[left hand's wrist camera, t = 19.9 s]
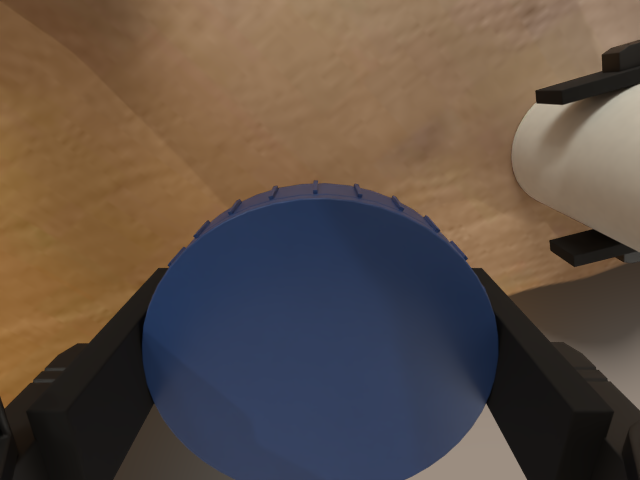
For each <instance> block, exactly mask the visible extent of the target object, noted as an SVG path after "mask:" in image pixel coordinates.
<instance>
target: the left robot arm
mask: <svg viewBox="0 0 640 480" xmlns="http://www.w3.org/2000/svg"><path fill="white" fill-rule="evenodd" d="M167 270H168V268H158V269H157V270H156V271H155V272H154V274H153V275H152V276H151V277H150V278H149V279H148V280H147V281H146V282H145V283H144V284H143V285H142V287H141V288H140V289H139V290H138V291H137V292H136V293H135V294H134V295H133V296H132V297H131V298H130V299H129V301H128V302H127V303H126V304H125V305H124V306H123V307H122V308H121V309H120V310H119V311H118V312H117V314H116V315H115V316H114V317H113V318H112V319H111V320H110V321H109V322H108V323H107V324H106V325H105V326H104V328H103V329H102V330H101V331H100V332H99V333H98V334H97V335H96V336H95V337H94V338H93V339H92V340H91V342H90V343H77V344H76V345H74V346H73V347H71V348H69V349H68V350H66V351H64V352H63V353H61V354H59V355H58V356H57V357H56V358H55V359H54V360H53V361H52V362H51V363H50V364H49V365H48V366H47V367H46V368H45V371H42V372H41V373H40V374H39V375H38V376H37V377H36V378H35V379H34V380H33V383H30V384H29V385H28V386H27V387H26V388H25V389H24V390H23V391H22V392H21V393H20V394H19V395H18V396H17V397H16V398H15V399H14V400H13V401H12V402H11V403H10V404H9V405H8V406H7V407H6V408H5V409H4V407H3V404H2V401H1V398H0V480H113V479H114V477H115V475H116V473H117V471H118V469H119V468H120V466H121V464H122V462H123V460H124V458H125V456H126V455H127V453H128V451H129V449H130V447H131V445H132V443H133V441H134V440H135V438H136V436H137V434H138V432H139V430H140V428H141V427H142V425H143V423H144V421H145V419H146V417H147V415H148V414H149V412H150V410H151V408H152V406H153V404H154V402H153V399H152V396H151V394H150V391H149V389H148V386H147V382H146V377H145V372H144V366H143V360H142V336H143V325H144V322H145V318H146V314H147V310H148V306H149V304H150V301H151V299H152V295H153V294H154V292H155V290H156V288H157V285H158V284H159V282H160V281H161V279H162V278H163V276H164V275H165V273H166V271H167ZM472 270H473V271H474V272H475V274H476V275H477V276H478V278H479V280H480V282H481V284H482V285H483V286H484V287H485V289H486V293H487V295H488V298H489V300H490V303H491V306H492V309H493V312H494V315H495V320H496V325H497V331H498V350H499V357H498V363H497V369H496V374H495V379H494V383H493V387H492V390H491V393H490V396H489V398H488V400H487V402H486V404H487V406H488V407H489V409H490V411H491V413H492V415H493V417H494V419H495V421H496V422H497V424H498V426H499V428H500V430H501V432H502V434H503V435H504V437H505V439H506V441H507V443H508V445H509V446H510V448H511V450H512V452H513V454H514V456H515V458H516V460H517V462H518V463H519V465H520V467H521V469H522V471H523V473H524V474H525V476H526V478H527V480H640V410H639V409H637V407H636V406H635V405H633V404H632V403H631V402H630V401H629V400H628V399H627V398H626V397H625V396H624V395H623V394H622V393H621V392H620V391H619V390H618V389H617V388H616V387H615V386H614V385H613V384H612V383H611V382H608V380H607V378H606V377H605V376H604V375H603V374H602V373H601V372H600V371H599V370H596V367H595V366H594V365H593V364H592V363H591V362H590V361H589V360H588V359H587V358H586V357H585V356H584V355H583V354H582V353H580V352H579V351H577V350H575V349H574V348H572V347H570V346H569V345H567V344H565V343H564V342H550V341H549V340H548V339H547V338H546V337H545V336H544V335H543V334H542V333H541V332H540V330H539V329H538V328H537V327H536V326H535V325H534V324H533V323H532V322H531V321H530V320H529V319H528V318H527V316H526V315H525V314H524V313H523V312H522V311H521V310H520V309H519V308H518V307H517V306H516V305H515V303H514V302H513V301H512V300H511V299H510V298H509V297H508V296H507V295H506V294H505V293H504V292H503V291H502V289H501V288H500V287H499V286H498V285H497V284H496V283H495V282H494V281H493V280H492V279H491V278H490V277H489V275H488V274H487V273H486V272H485V271H484V270H483V269H482V268H472Z"/></svg>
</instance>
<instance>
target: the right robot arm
mask: <svg viewBox="0 0 640 480" xmlns="http://www.w3.org/2000/svg"><path fill="white" fill-rule="evenodd" d="M638 83H640V40H637V41H634V42H631V43H627V44H623V45H620V46H617V47H613V48H611V49H609V50H608V51H606V52H605V53H604V54H602V71H601V72H598V73H594V74H591V75H587V76H584V77H580V78H577V79H574V80H570V81H567V82H563V83H560V84H556V85H553V86H549V87H546V88H543V89H539V90H536V102H537V104H552V105H565V104H568V103H572V102H575V101H579V100H582V99H586V98H589V97H593V96H596V95H600V94H603V93H607V92H610V91H614V90H617V89H621V88H624V87H628V86H631V85H635V84H638ZM550 250H551V251H552V252H553V253H555V254H556V255H558V256H559V257H561V258H562V259H564V260H565V261H566V262H568V263H569V264H571V265H572V266H574V267H576V266H581V265H585V264H589V263H593V262H597V261H601V260H605V259H609V258H613V257H616V258H617V259H619V260H621V261H623V262H626V263H635V262H639V261H640V252H638V251H636V250H634V249H632V248H630V247H628V246H626V245H624V244H622V243H620V242H618V241H616V240H614V239H612V238H610V237H608V236H606V235H604V234H602V233H600V232H598V231H596V230H594V229H592V230H588V231H584V232H580V233H576V234H572V235H569V236H565V237H561V238H557V239H553V240H550Z"/></svg>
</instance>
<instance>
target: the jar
mask: <svg viewBox="0 0 640 480" xmlns="http://www.w3.org/2000/svg"><path fill="white" fill-rule="evenodd" d="M511 159H512V167H513V171H514V175H515V177H516V179H517V181H518V183H519V185H520V186H521V188H522V189H523V190H524V191H525V192H526V193H527V194H528V195H529V196H530V197H532V198H534V199H535V200H537V201H539V202H541V203H543V204H545V205H547V206H549V207H551V208H553V209H555V210H557V211H559V212H561V213H563V214H565V215H567V216H569V217H571V218H573V219H575V220H577V221H579V222H580V223H582V224H584V225H586V226H588V227H590V228H592V229H594V230H596V231H598V232H600V233H602V234H604V235H606V236H608V237H610V238H612V239H614V240H616V241H618V242H620V243H622V244H624V245H626V246H628V247H630V248H632V249H634V250H636V251H638V252H640V83H638V84H635V85H631V86H628V87H624V88H621V89H617V90H614V91H610V92H607V93H603V94H600V95H596V96H593V97H589V98H586V99H582V100H579V101H575V102H572V103H568V104H565V105H552V104H537V102H536V103H535V104H534V105H533V106H532V107H531V108H530V109H529V111H528V112H527V113H526V115H525V116H524V118H523V119H522V121H521V123H520V125H519V127H518V129H517V131H516V134H515V137H514V141H513V145H512V156H511Z"/></svg>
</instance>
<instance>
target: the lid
mask: <svg viewBox="0 0 640 480" xmlns="http://www.w3.org/2000/svg"><path fill="white" fill-rule="evenodd" d="M194 237H195V238H194V239H193V241H192V242H191V243H190V244H189V245H188V246H187V247H186V248H185V247H183V248H182V249H181V250H180V251H179V253H178V254H177V255H176V256H175V257H174V258H173V259H172V260H171V261H170V263H169V264H168V266H169V268H168V270H167V271H166V273H165V275H164V276H163V278H162V279H161V281H160V282H159V284H158V285H157V288H156V290H155V292H154V294H153V295H152V299H151V301H150V304H149V306H148V310H147V314H146V318H145V322H144V325H143V336H142V360H143V366H144V372H145V377H146V382H147V386H148V389H149V391H150V394H151V396H152V399H153V402H154V404H155V406H156V407H157V409H158V411H159V413H160V414H161V416H162V418H163V420H164V421H165V422H166V424H167V425H168V426H169V428H170V429H171V430H172V432H173V433H174V434H175V436H176V437H177V438H178V439H179V440H180V441H181V442H182V443H183V444H184V445H185V446H186V447H187V448H188V449H189V450H190V451H191V452H193V453H194V454H195V455H196V456H198V457H199V458H200V459H201V460H202V461H204V462H205V463H207V464H208V465H210V466H212V467H213V468H215V469H216V470H218V471H219V472H221V473H223V474H225V475H227V476H229V477H231V478H233V479H235V480H405V479H407V478H410V477H412V476H414V475H416V474H417V473H419V472H421V471H422V470H424V469H426V468H428V467H429V466H431V465H432V464H434V463H435V462H436V461H438V460H439V459H440V458H442V457H443V456H445V455H446V454H447V453H448V452H449V451H450V450H451V449H452V448H453V447H454V446H456V445H457V444H458V443H459V442H460V441H461V439H462V438H463V437H464V436H465V435H466V433H467V432H468V431H469V430H470V429H471V428H472V426H473V425H474V423H475V422H476V420H477V418H478V417H479V415H480V414H481V412H482V410H483V408H484V406H485V404H486V402H487V400H488V398H489V396H490V393H491V390H492V387H493V383H494V379H495V374H496V369H497V363H498V357H499V350H498V331H497V325H496V320H495V315H494V312H493V309H492V306H491V303H490V300H489V298H488V295H487V293H486V289H485V287H484V286H483V285H482V284H481V282H480V280H479V278H478V276H477V275H476V274H475V272H474V271H473V270H472V268H471V267H470V266H469V264H468V263H467V262H466V260H467V259H468V258H467V257H466V256H465V254H464V253H463V252H462V251H461V250H460V249H459V248H458V247H457V245H456V244H455V243H454V242H453V241H451V242H449V241H448V240H447V238H446V237H445V236H444V235H443V234H442V233H441V232H440V229H439V228H438V227H437V226H436V225H435V224H434V223H433V221H432V220H431V219H430V218H429V217H428V216H427V215H426V216H425V217H422V216H421V215H420V214H418V213H417V212H416V211H414V210H413V209H411V208H409V207H407V206H406V205H404V204H402V203H400V202H399V200H398V199H397V198H396V197H395V196H392V198H390V197H387V196H384V195H382V194H379V193H376V192H374V191H371V190H366V189H362V188H360V187H359V185H358V184H354V187H353V186H348V185H338V184H328V183H321V184H318V181H317V180H316V181H314V184H300V185H294V186H288V187H282V188H278V186H274V187H273V189H272V190H271V191H267V192H264V193H261V194H258V195H255V196H253V197H251V198H249V199H247V200H244V201H242V202H241V200H240V199H239V200H237V201H236V202H235V204H234V205H233V206H232V207H231V208H230V209H228V210H227V211H225V212H223V213H222V214H220V215H219V216H217V217H216V218H215V219H214V220H213V221H212V222H209V221H206V222H205V223H204V225H203V226H202V227H201V228H200V229H199V230H198V231H197V232H196V234H195V235H194Z"/></svg>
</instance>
